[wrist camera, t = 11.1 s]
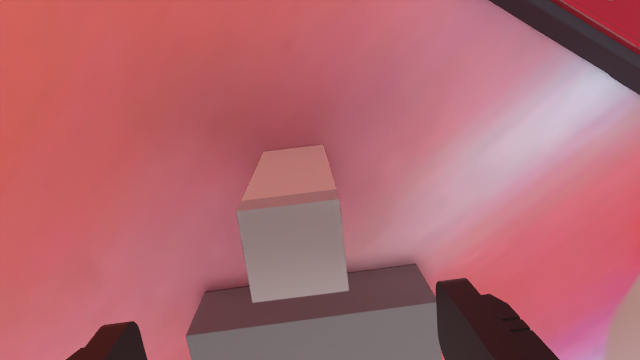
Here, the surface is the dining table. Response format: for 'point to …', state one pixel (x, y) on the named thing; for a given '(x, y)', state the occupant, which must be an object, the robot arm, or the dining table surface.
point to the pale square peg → (292, 226)
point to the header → (323, 322)
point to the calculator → (589, 31)
